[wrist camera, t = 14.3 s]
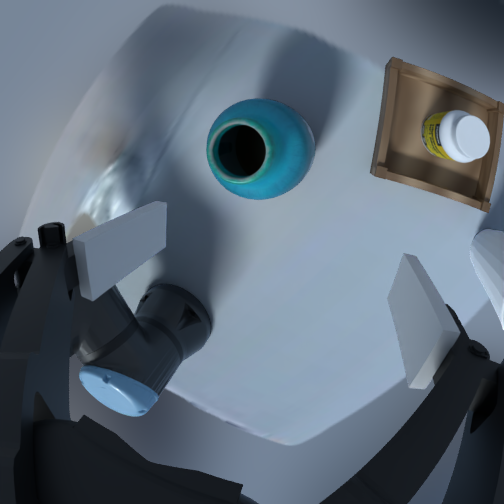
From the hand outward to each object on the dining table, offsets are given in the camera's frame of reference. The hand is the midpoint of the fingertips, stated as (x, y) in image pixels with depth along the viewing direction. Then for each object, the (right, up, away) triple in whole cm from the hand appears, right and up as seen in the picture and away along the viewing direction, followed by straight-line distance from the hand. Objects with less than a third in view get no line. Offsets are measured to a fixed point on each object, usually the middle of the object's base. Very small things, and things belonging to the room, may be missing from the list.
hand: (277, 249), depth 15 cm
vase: (+3, +14, +23) cm, 28 cm away
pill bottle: (+24, +16, +16) cm, 33 cm away
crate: (+24, +16, +16) cm, 34 cm away
